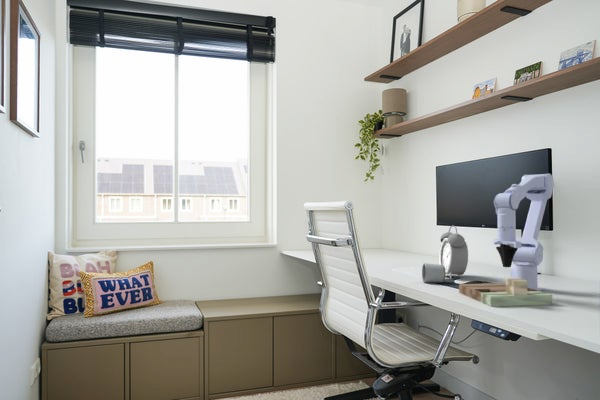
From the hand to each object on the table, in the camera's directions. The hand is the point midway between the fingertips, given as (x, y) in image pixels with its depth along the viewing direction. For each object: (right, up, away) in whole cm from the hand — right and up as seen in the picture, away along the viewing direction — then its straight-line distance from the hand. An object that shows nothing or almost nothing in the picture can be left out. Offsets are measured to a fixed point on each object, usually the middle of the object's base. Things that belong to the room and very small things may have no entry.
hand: (506, 267), depth 160 cm
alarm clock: (-6, -10, +39) cm, 40 cm away
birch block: (-4, -6, -15) cm, 16 cm away
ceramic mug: (-18, -10, +26) cm, 34 cm away
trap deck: (-4, -9, -7) cm, 12 cm away
